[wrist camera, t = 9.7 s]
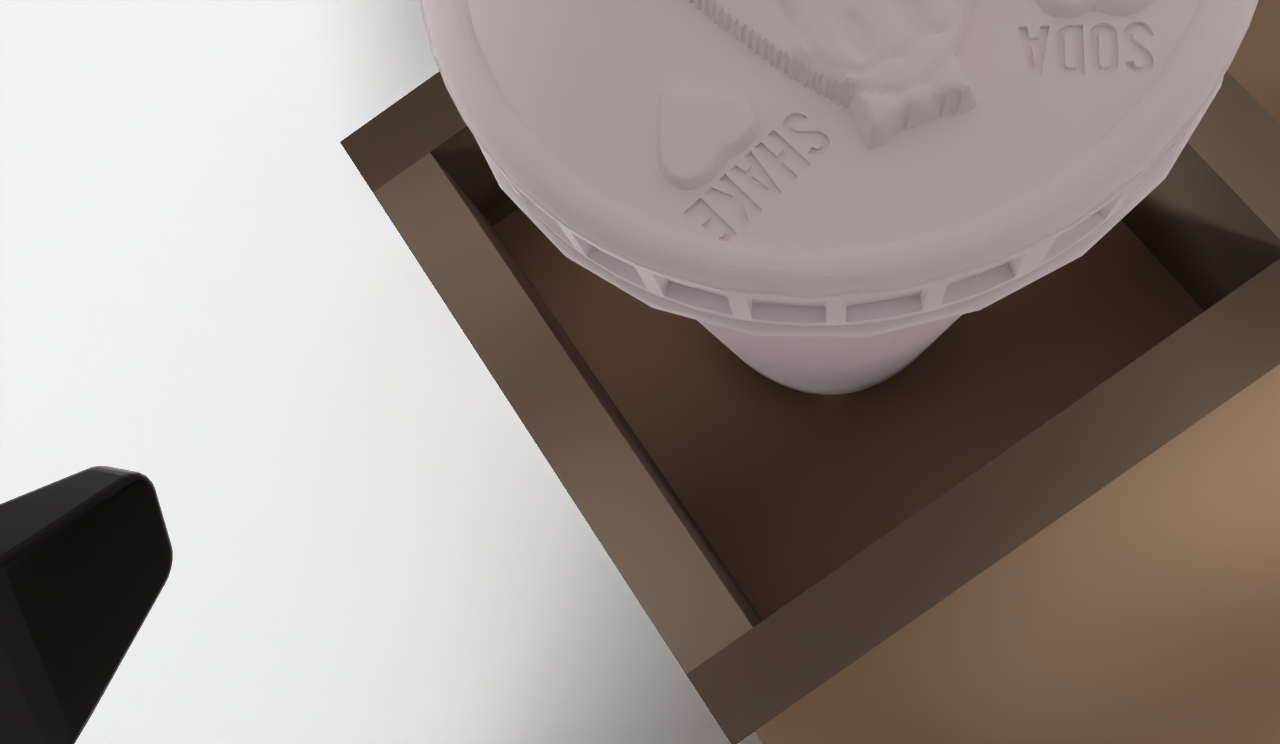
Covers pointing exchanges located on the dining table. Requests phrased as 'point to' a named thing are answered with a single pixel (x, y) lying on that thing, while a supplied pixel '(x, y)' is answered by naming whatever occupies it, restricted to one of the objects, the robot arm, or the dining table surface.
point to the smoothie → (830, 151)
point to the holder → (923, 462)
